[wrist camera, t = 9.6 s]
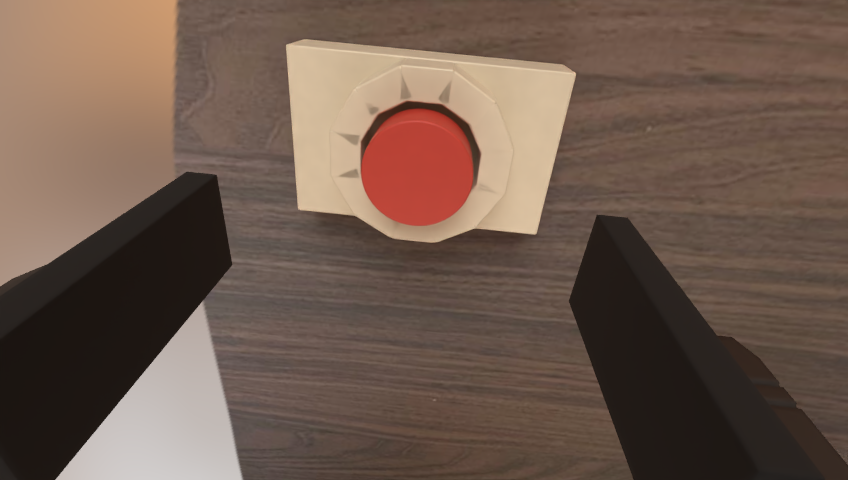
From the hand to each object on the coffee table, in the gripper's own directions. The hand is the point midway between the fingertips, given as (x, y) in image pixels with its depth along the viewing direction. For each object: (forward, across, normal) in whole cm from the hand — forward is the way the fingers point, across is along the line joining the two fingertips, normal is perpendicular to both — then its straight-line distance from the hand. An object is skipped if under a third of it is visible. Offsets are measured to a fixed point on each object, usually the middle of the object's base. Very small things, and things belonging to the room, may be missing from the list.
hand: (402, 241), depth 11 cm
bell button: (+6, 0, 0) cm, 6 cm away
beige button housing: (+10, 0, 0) cm, 10 cm away
